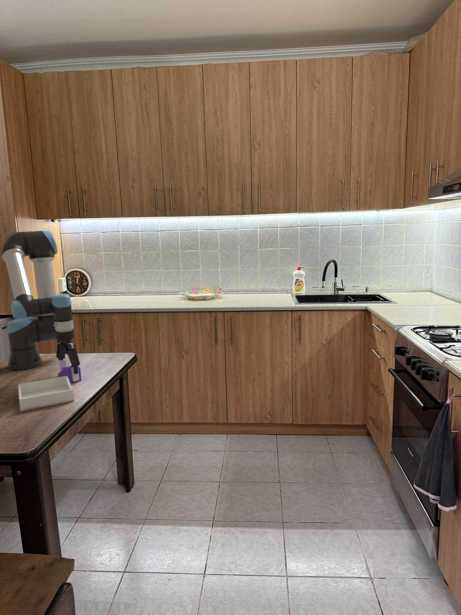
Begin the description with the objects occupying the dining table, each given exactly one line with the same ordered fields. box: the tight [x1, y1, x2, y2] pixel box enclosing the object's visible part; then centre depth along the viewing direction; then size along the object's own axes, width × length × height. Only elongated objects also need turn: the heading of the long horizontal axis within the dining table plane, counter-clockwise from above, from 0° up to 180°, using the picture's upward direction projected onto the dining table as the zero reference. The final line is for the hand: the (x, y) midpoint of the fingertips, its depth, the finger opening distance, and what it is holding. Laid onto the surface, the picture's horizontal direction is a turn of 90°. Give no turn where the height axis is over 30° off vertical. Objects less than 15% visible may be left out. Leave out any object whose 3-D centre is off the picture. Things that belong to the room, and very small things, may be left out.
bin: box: [17, 376, 75, 412], centre depth 174 cm, size 19×19×5 cm
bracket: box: [57, 365, 83, 384], centre depth 195 cm, size 12×7×7 cm, turn 35°
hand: (69, 377), depth 196 cm, fingers closed on bracket, 12 cm apart
